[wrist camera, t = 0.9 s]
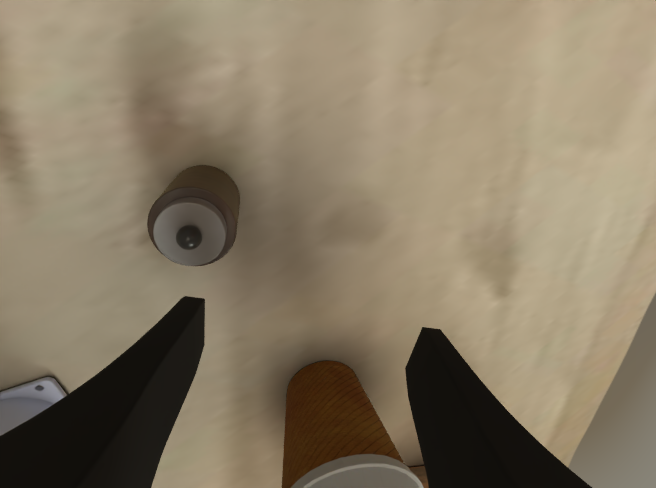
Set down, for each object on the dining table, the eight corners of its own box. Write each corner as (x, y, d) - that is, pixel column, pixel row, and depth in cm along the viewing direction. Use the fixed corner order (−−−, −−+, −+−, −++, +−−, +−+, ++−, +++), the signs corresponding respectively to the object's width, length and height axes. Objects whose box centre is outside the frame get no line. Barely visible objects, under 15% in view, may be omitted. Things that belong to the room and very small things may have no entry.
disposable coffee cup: (246, 378, 31) (243, 539, 20) (350, 326, 30) (404, 459, 20) (298, 444, 35) (319, 608, 24) (389, 399, 35) (452, 543, 24)
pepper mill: (186, 238, 25) (161, 295, 18) (157, 176, 23) (118, 214, 16) (249, 219, 25) (247, 267, 19) (225, 156, 24) (214, 185, 17)
